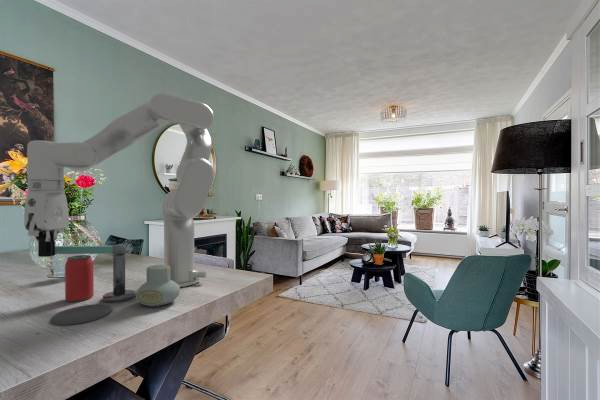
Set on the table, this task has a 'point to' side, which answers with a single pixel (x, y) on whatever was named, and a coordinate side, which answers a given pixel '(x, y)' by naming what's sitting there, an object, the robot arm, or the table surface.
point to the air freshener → (158, 287)
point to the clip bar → (91, 249)
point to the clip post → (118, 282)
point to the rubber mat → (81, 314)
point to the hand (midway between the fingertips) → (46, 255)
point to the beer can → (79, 278)
